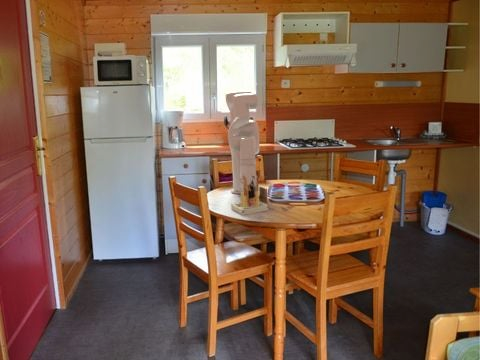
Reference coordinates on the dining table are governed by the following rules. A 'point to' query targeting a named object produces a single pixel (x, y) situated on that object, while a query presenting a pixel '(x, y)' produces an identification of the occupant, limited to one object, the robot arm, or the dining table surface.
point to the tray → (249, 208)
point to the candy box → (245, 194)
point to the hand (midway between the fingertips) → (249, 196)
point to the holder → (262, 194)
